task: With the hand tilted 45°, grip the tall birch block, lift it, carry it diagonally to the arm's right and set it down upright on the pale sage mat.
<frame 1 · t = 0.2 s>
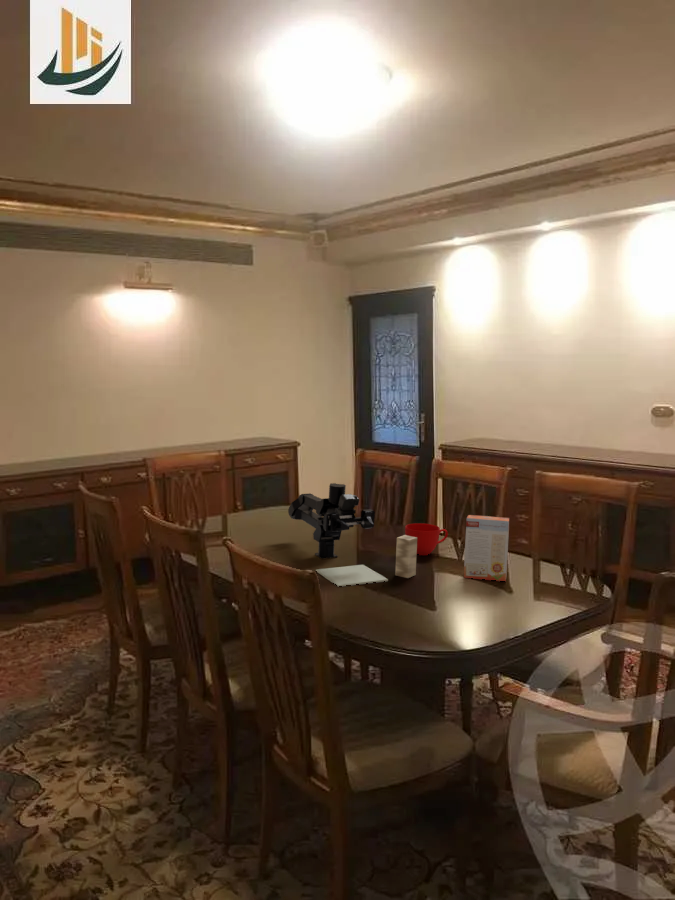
hand: (361, 526, 242), 17 cm above the table, tool horizontal, fingers open, 9 cm apart
sage mat: (351, 576, 243), on the table
cracker box: (484, 578, 246), on the table
birch block: (405, 575, 246), on the table
ceramic cup: (426, 553, 276), on the table
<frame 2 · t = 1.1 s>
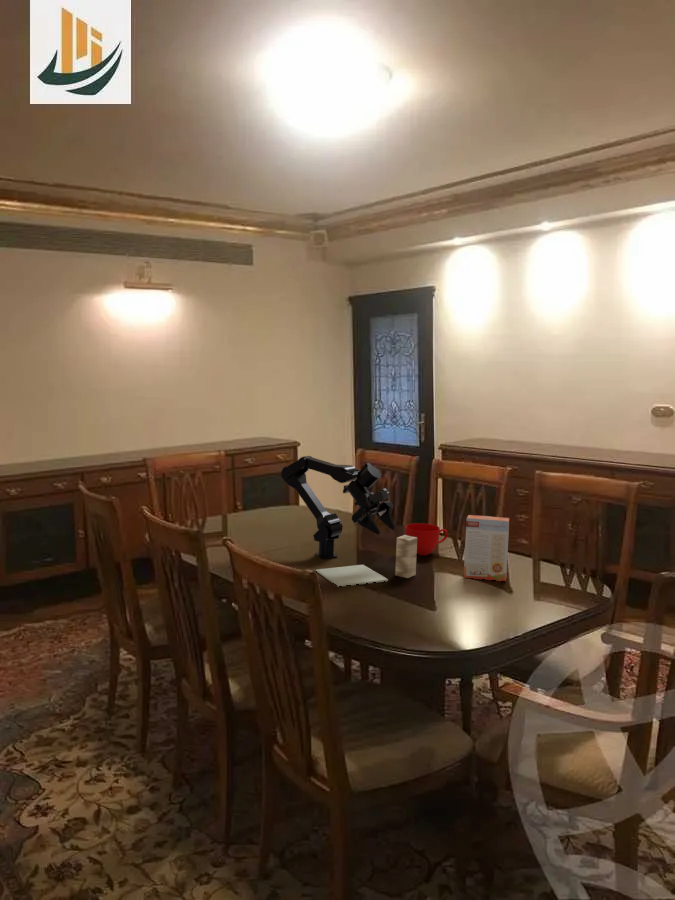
hand: (386, 531, 249), 14 cm above the table, tool tilted 45°, fingers open, 9 cm apart
nothing on the table moved.
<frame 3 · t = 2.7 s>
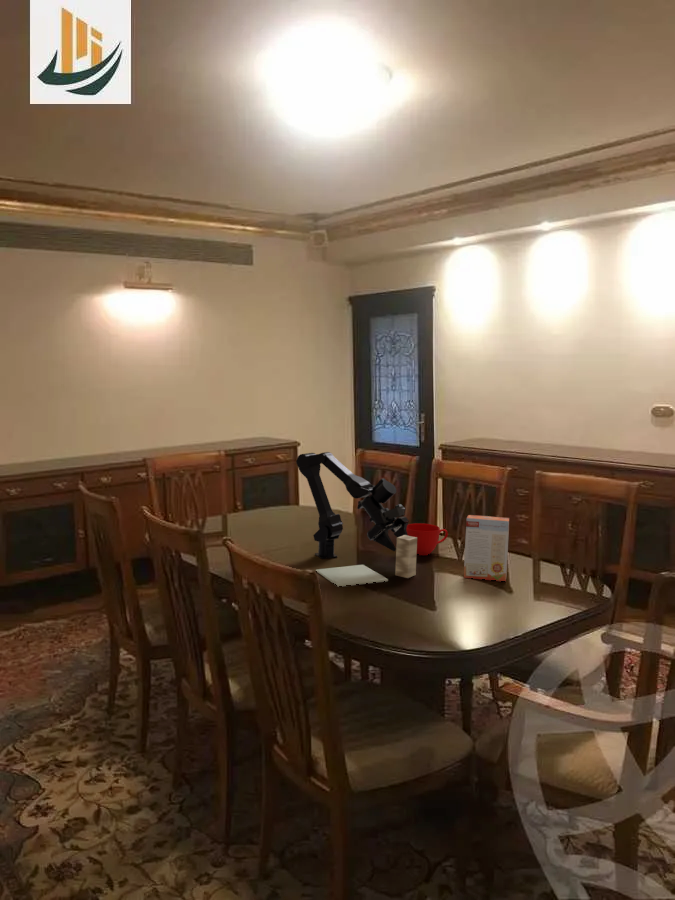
hand: (402, 548, 246), 9 cm above the table, tool tilted 45°, fingers open, 9 cm apart
nothing on the table moved.
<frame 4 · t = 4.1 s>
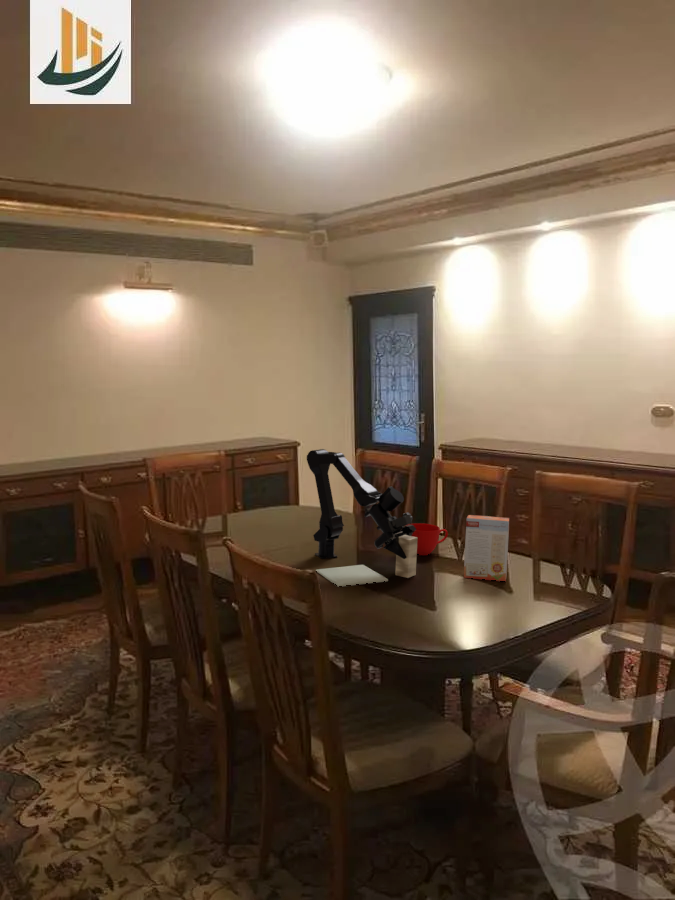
hand: (409, 556, 245), 7 cm above the table, tool tilted 45°, fingers closed on birch block, 5 cm apart
birch block: (405, 574, 246), on the table, touching gripper
everything else where it was.
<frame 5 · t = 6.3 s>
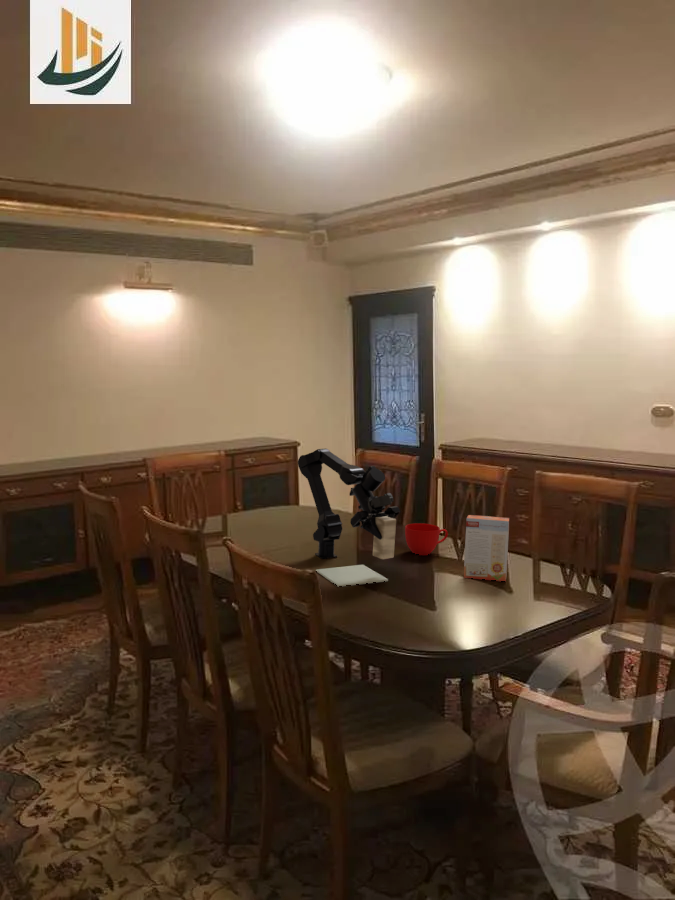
hand: (387, 537, 241), 14 cm above the table, tool tilted 45°, fingers closed on birch block, 5 cm apart
birch block: (383, 556, 243), point 7 cm above the table, touching gripper
everything else where it was.
when the fingers open (9 cm above the table, at t = 8.8 s): birch block drops 1 cm, resting on sage mat.
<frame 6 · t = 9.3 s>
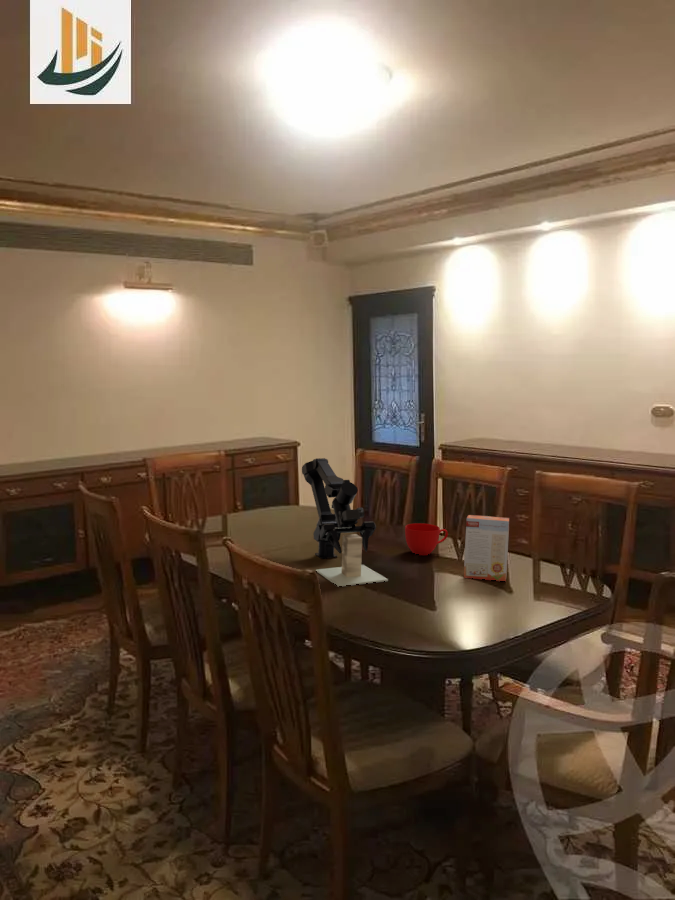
hand: (353, 552, 241), 9 cm above the table, tool tilted 45°, fingers open, 9 cm apart
birch block: (351, 574, 243), point 1 cm above the table, touching sage mat
everything else where it was.
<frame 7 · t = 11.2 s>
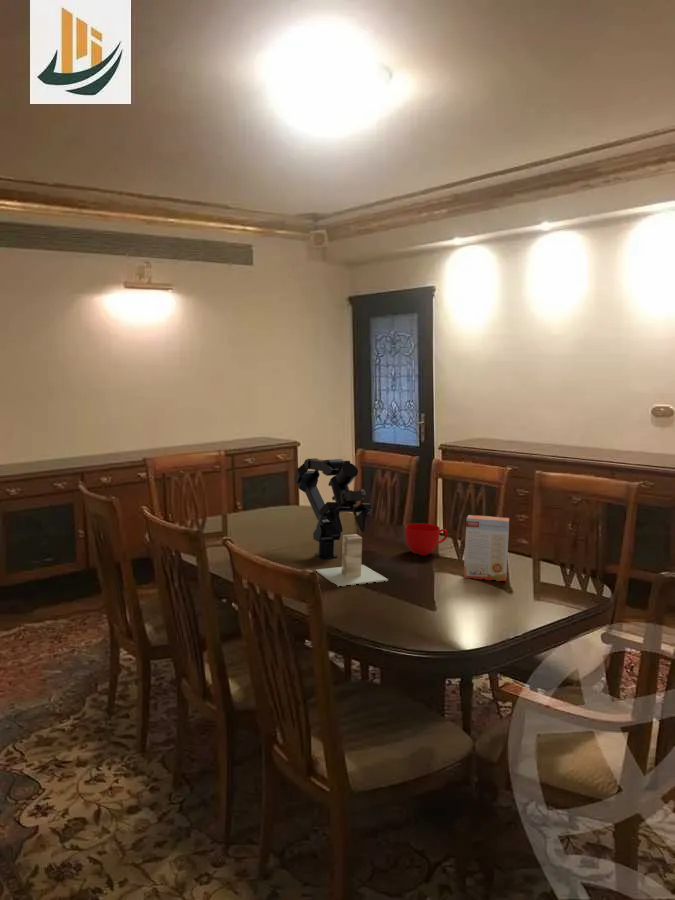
hand: (352, 532, 247), 14 cm above the table, tool tilted 40°, fingers open, 9 cm apart
nothing on the table moved.
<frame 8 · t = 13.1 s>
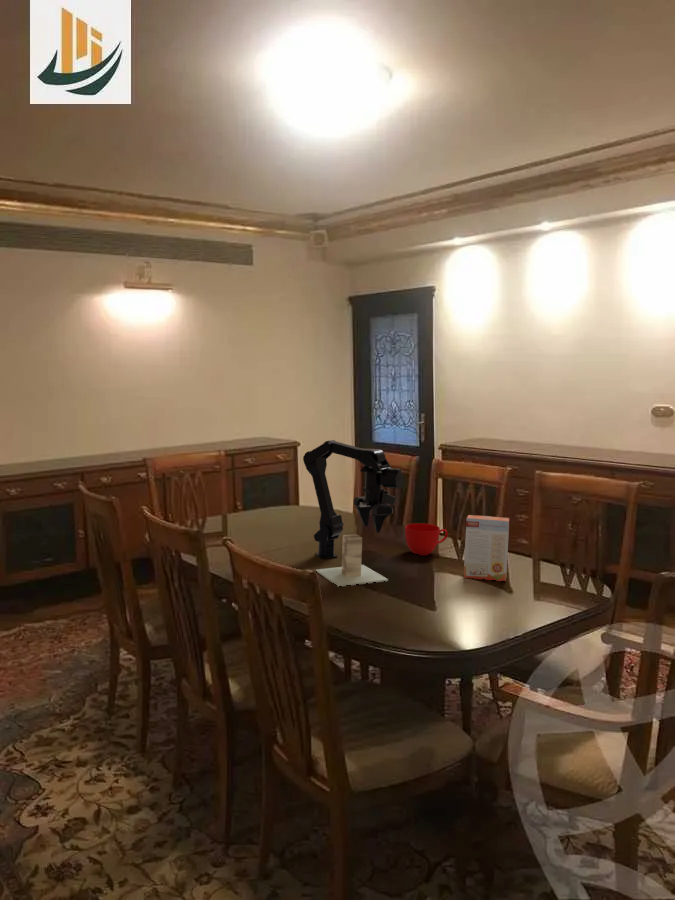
hand: (371, 529, 255), 13 cm above the table, tool pointing down, fingers open, 9 cm apart
nothing on the table moved.
at the end: birch block inside the target area on the sage mat (0.1 cm from its centre), point 0.6 cm above the sage mat's base; birch block tilted 0°; the gripper is holding nothing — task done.
